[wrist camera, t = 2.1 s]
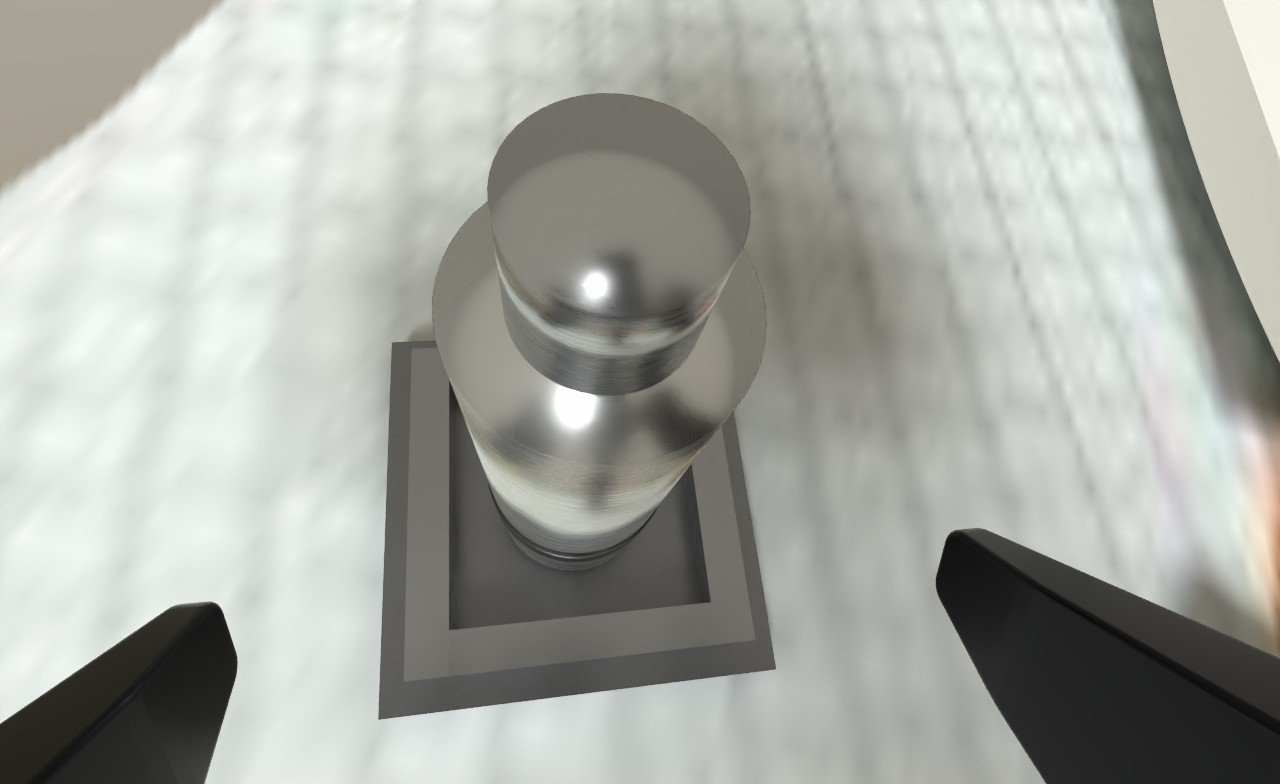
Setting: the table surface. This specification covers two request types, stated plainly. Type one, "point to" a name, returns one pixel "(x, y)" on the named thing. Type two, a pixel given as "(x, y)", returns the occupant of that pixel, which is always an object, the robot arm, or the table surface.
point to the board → (1234, 127)
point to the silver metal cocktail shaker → (599, 318)
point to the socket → (550, 575)
